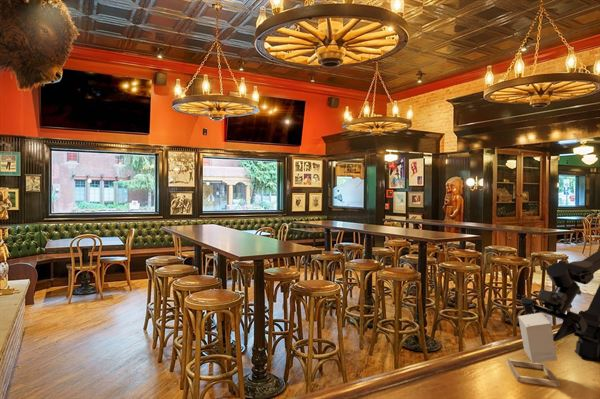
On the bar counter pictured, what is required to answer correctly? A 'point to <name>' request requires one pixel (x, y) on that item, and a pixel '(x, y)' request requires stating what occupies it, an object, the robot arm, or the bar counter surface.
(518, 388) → the bar counter surface
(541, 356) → the supplement box
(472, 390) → the bar counter surface
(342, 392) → the bar counter surface
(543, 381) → the tray rim
